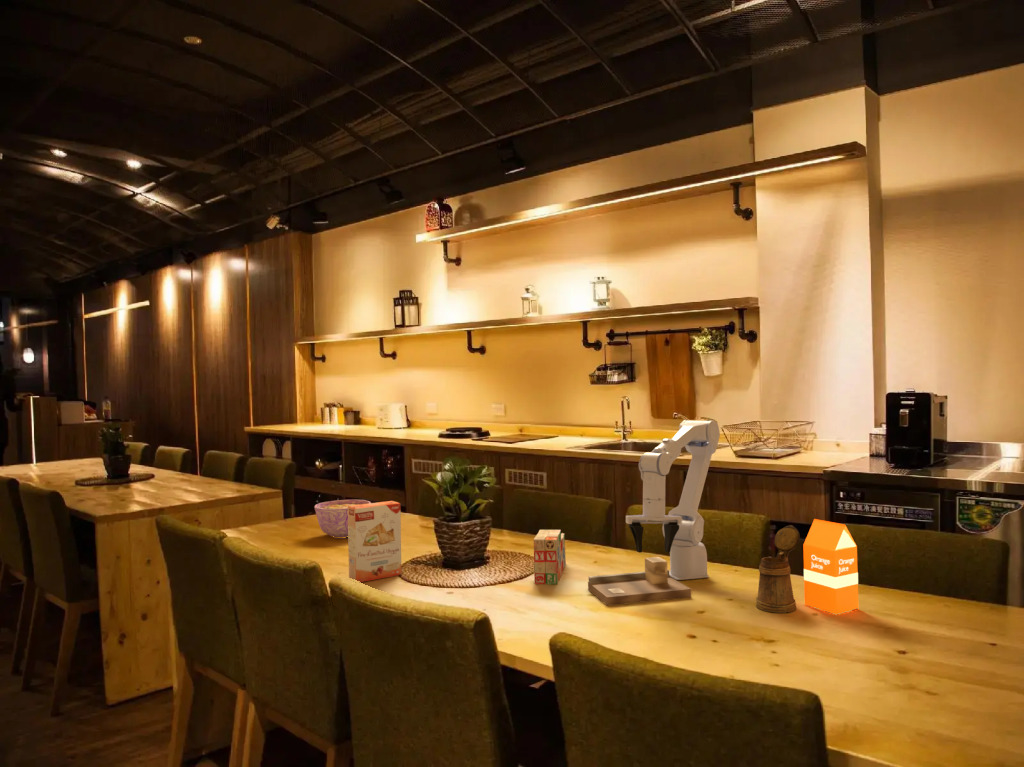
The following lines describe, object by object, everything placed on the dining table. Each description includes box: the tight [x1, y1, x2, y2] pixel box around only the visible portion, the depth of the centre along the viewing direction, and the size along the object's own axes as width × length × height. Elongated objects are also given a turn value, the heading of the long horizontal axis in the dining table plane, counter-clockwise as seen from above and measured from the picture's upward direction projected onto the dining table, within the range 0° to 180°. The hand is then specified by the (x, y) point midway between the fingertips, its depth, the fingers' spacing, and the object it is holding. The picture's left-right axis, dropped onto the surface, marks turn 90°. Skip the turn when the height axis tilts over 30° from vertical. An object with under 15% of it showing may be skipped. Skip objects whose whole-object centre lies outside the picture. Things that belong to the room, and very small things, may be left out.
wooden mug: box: [755, 524, 801, 614], centre depth 172 cm, size 9×14×18 cm, turn 133°
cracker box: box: [347, 500, 402, 583], centre depth 205 cm, size 14×6×21 cm, turn 125°
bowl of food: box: [314, 499, 372, 537], centre depth 263 cm, size 20×20×12 cm
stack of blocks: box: [533, 529, 567, 585], centre depth 205 cm, size 21×6×12 cm, turn 170°
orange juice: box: [802, 518, 859, 614], centre depth 169 cm, size 8×9×20 cm
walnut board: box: [587, 569, 692, 606], centre depth 184 cm, size 22×14×4 cm, turn 103°
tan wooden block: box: [644, 556, 668, 584], centre depth 187 cm, size 4×5×6 cm
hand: (653, 551), depth 187 cm, fingers open, 7 cm apart
